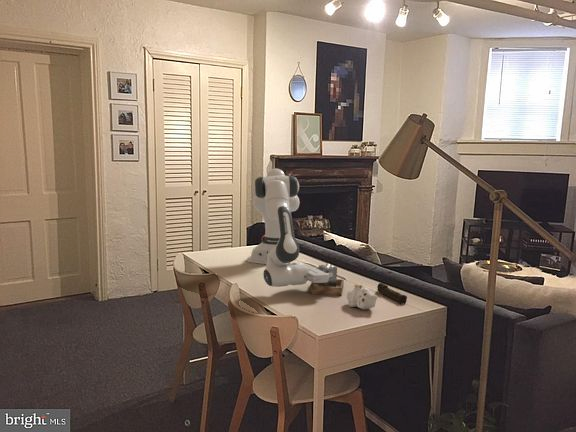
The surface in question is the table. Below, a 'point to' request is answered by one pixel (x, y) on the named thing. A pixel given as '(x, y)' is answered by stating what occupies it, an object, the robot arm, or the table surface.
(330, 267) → the gravel tin
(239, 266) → the table surface
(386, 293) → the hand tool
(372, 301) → the cat figurine
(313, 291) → the walnut tray
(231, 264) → the table surface
